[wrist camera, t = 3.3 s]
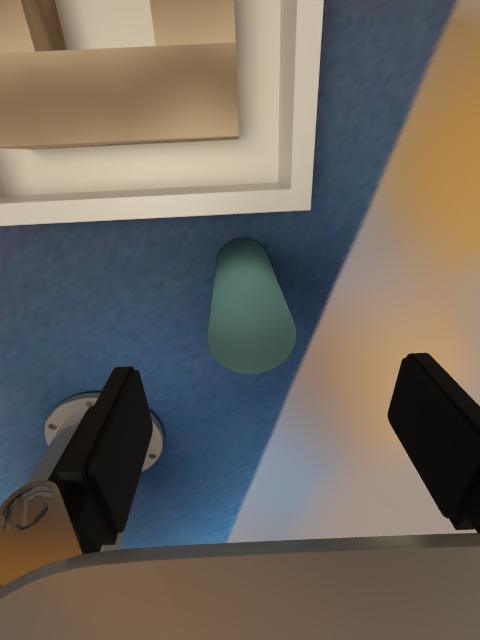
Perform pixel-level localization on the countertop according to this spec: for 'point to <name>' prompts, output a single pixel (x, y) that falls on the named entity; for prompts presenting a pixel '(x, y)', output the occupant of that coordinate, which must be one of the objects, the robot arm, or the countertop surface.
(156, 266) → the countertop surface
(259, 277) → the peg
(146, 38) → the open box
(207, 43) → the bore plate
